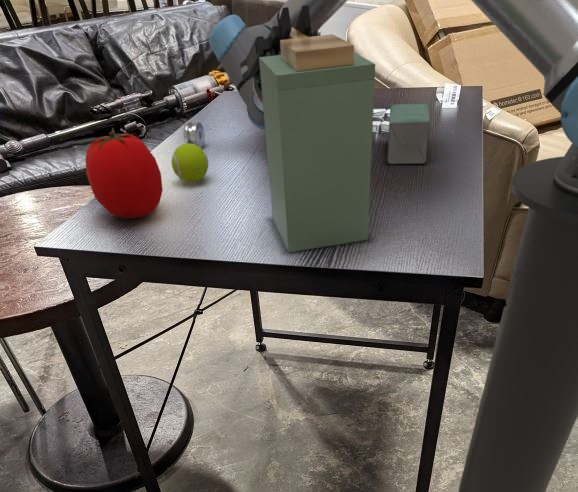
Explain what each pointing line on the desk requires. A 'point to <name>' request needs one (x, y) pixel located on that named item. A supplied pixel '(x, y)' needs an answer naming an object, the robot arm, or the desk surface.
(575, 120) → the robot arm
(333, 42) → the tan wooden slab
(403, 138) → the box
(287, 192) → the stand
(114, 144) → the tomato
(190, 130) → the grooved metal pulley
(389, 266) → the desk surface
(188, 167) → the tennis ball
